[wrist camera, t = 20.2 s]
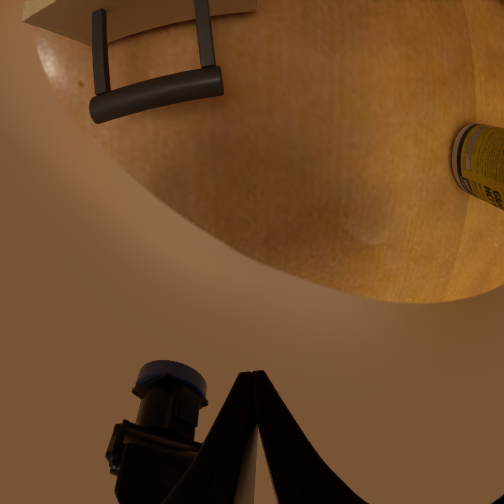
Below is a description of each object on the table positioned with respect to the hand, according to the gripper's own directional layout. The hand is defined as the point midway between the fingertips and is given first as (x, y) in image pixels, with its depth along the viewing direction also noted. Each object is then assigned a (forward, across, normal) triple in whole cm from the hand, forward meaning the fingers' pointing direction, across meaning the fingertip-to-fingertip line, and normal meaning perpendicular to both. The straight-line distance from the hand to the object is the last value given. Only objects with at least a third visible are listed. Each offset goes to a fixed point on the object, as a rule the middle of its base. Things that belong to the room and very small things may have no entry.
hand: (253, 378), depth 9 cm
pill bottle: (+12, -20, -5) cm, 24 cm away
